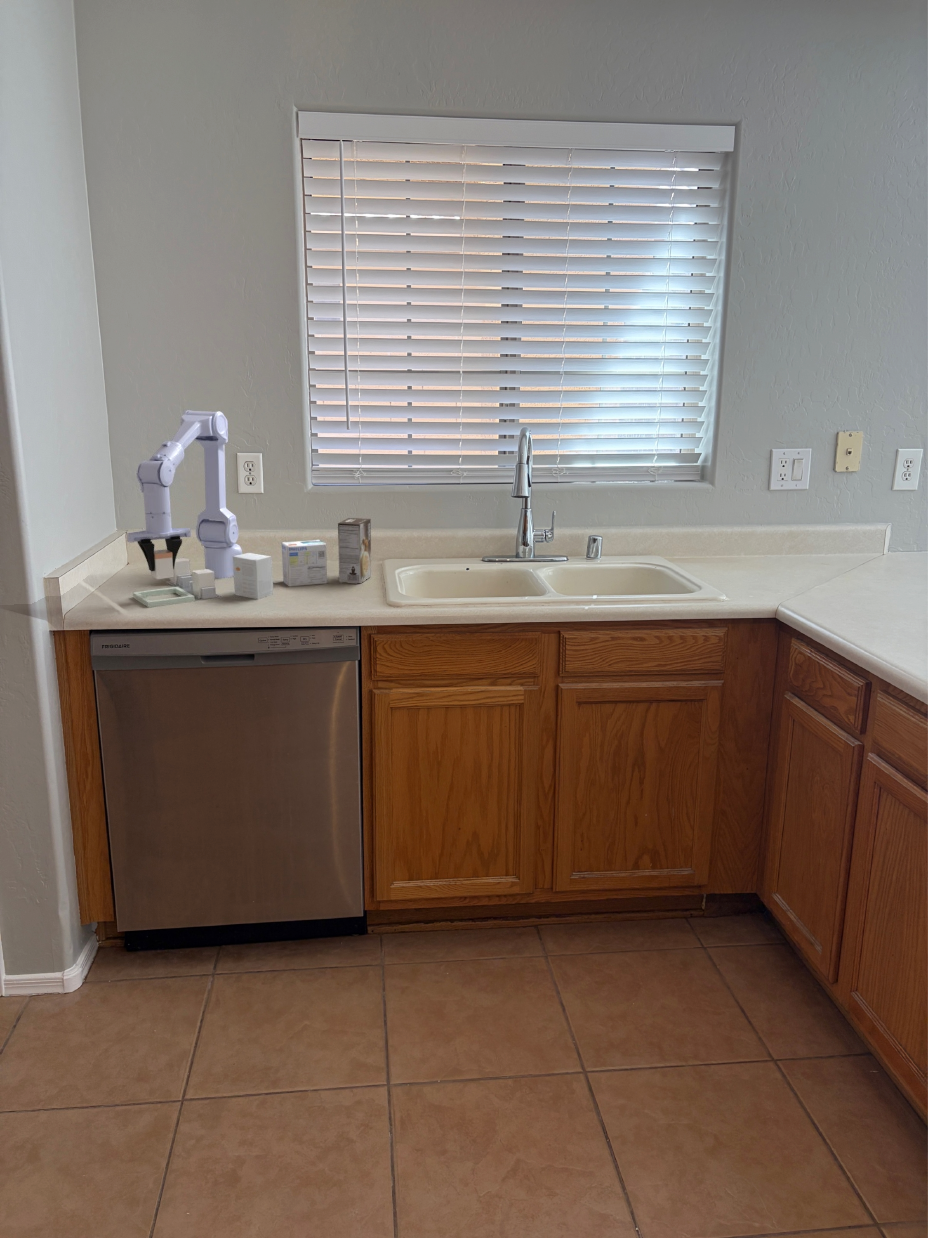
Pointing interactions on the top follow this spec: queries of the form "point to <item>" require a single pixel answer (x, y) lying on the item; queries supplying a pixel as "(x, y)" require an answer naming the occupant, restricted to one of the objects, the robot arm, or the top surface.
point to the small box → (253, 575)
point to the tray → (183, 599)
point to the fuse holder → (187, 585)
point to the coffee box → (354, 550)
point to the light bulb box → (304, 563)
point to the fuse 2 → (202, 580)
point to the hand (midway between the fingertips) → (161, 569)
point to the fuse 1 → (180, 569)
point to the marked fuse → (163, 564)
